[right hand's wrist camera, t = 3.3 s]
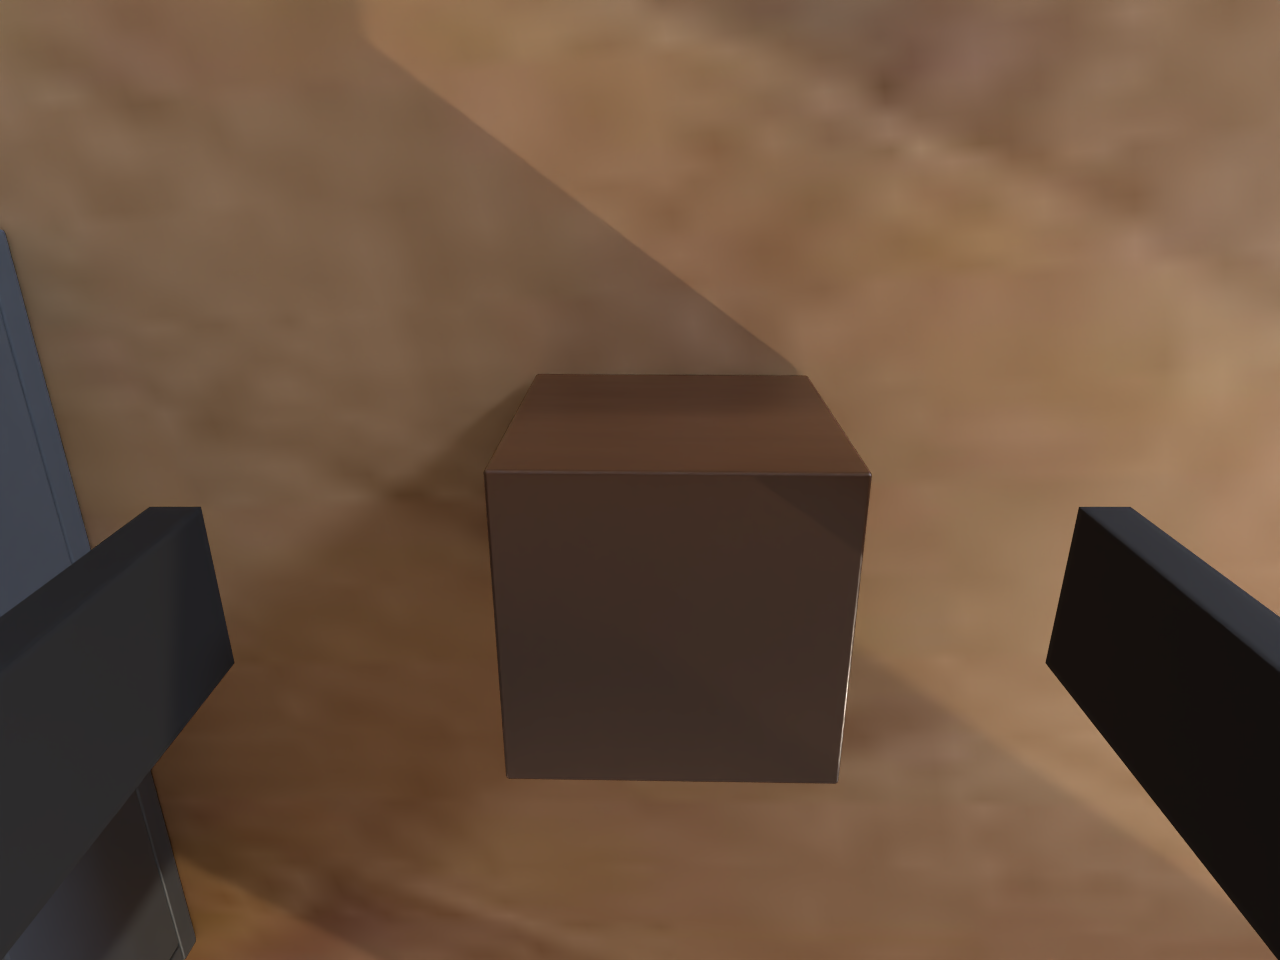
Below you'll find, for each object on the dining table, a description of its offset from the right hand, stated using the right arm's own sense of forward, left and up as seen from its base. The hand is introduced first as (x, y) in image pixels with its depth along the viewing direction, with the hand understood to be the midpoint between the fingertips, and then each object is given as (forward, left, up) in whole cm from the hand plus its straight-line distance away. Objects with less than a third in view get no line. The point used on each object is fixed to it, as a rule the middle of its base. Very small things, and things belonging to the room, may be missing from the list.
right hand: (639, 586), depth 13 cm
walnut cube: (0, 0, -4) cm, 4 cm away
